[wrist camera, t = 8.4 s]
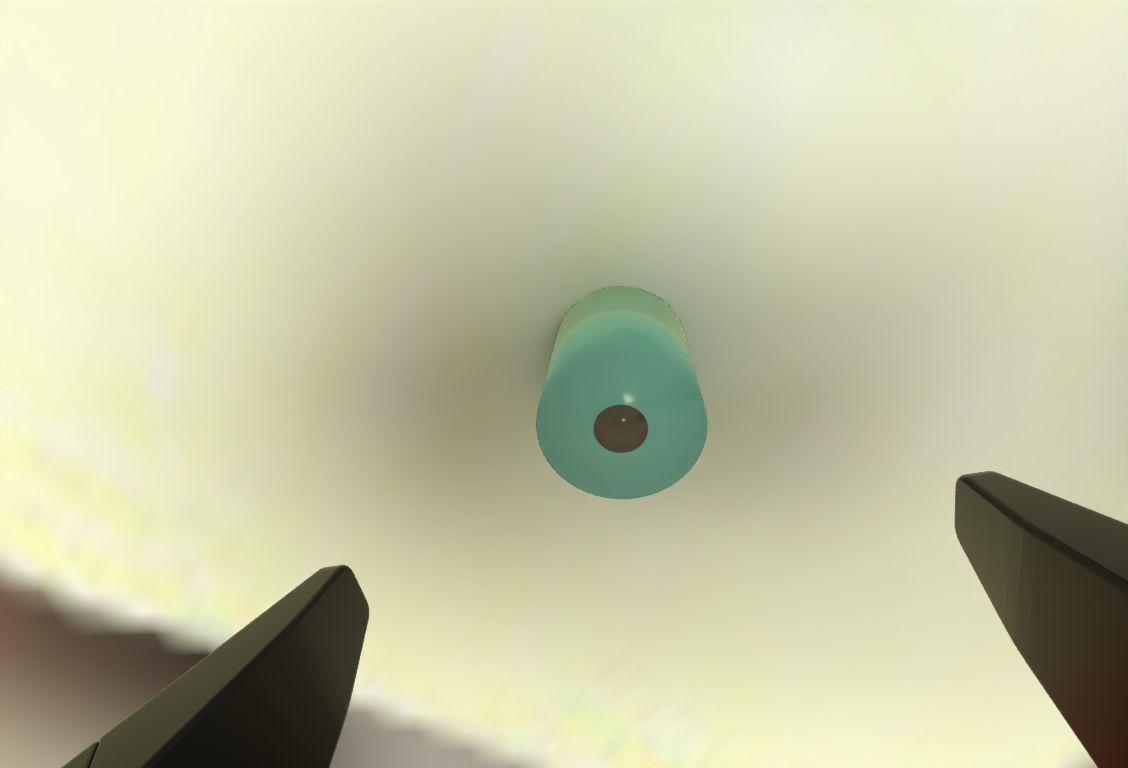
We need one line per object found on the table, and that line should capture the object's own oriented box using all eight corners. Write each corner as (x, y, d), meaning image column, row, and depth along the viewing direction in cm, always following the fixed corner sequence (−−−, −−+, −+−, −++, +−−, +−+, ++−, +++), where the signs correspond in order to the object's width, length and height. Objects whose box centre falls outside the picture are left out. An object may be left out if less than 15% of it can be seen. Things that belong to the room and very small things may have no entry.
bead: (672, 272, 20) (690, 333, 15) (696, 392, 21) (720, 484, 16) (540, 303, 20) (514, 371, 15) (574, 417, 22) (561, 512, 17)
